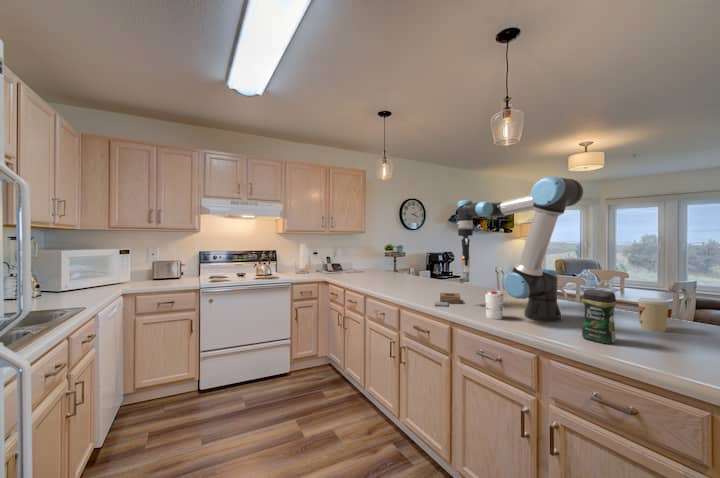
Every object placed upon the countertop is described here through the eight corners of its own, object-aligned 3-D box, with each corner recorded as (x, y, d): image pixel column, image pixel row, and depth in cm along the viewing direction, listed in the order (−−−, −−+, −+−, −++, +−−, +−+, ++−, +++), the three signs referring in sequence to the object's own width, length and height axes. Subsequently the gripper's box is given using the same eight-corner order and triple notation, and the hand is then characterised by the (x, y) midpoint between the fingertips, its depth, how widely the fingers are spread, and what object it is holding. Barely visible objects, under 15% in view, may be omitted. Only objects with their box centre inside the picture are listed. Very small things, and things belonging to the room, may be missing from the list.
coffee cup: (638, 324, 136) (638, 296, 136) (669, 328, 130) (669, 299, 129) (636, 329, 130) (636, 299, 130) (668, 334, 123) (668, 303, 123)
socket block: (460, 304, 177) (460, 297, 177) (440, 303, 180) (440, 296, 180) (459, 300, 188) (459, 293, 188) (440, 299, 191) (440, 292, 191)
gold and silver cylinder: (470, 282, 171) (469, 256, 171) (462, 281, 172) (462, 256, 172) (469, 281, 175) (469, 255, 175) (461, 280, 176) (461, 255, 176)
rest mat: (447, 306, 171) (447, 304, 171) (434, 306, 173) (434, 304, 173) (447, 303, 178) (447, 302, 178) (434, 303, 180) (434, 301, 180)
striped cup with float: (508, 320, 144) (508, 294, 144) (489, 320, 144) (489, 294, 144) (498, 314, 154) (498, 290, 154) (481, 314, 154) (481, 290, 154)
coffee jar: (578, 338, 119) (578, 289, 119) (589, 334, 123) (589, 287, 123) (609, 346, 111) (609, 293, 110) (619, 342, 115) (619, 291, 114)
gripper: (457, 229, 182) (457, 269, 182) (459, 228, 166) (459, 272, 166) (471, 228, 180) (471, 269, 181) (474, 228, 164) (474, 273, 164)
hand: (465, 271), depth 173 cm, fingers closed on gold and silver cylinder, 4 cm apart
